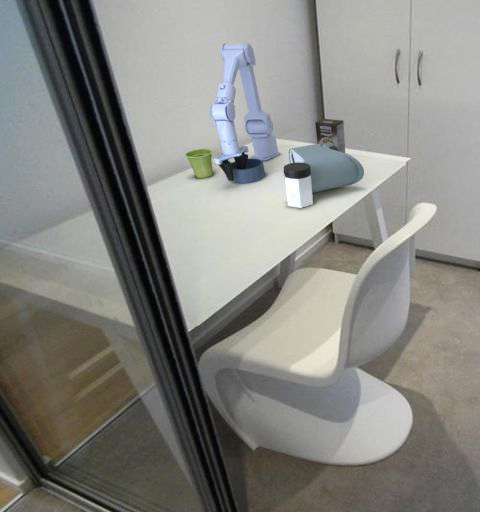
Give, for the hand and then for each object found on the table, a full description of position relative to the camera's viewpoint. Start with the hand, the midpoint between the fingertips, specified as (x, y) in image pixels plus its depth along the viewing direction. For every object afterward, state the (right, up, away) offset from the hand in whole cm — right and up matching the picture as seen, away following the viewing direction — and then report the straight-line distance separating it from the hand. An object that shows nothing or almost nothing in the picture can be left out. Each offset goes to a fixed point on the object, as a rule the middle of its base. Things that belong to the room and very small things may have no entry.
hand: (236, 177), depth 155 cm
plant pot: (-15, +2, +8) cm, 17 cm away
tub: (+3, +1, +5) cm, 6 cm away
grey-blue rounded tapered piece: (+33, -3, -2) cm, 33 cm away
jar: (+26, -11, -16) cm, 32 cm away
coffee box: (+32, +9, +16) cm, 37 cm away
